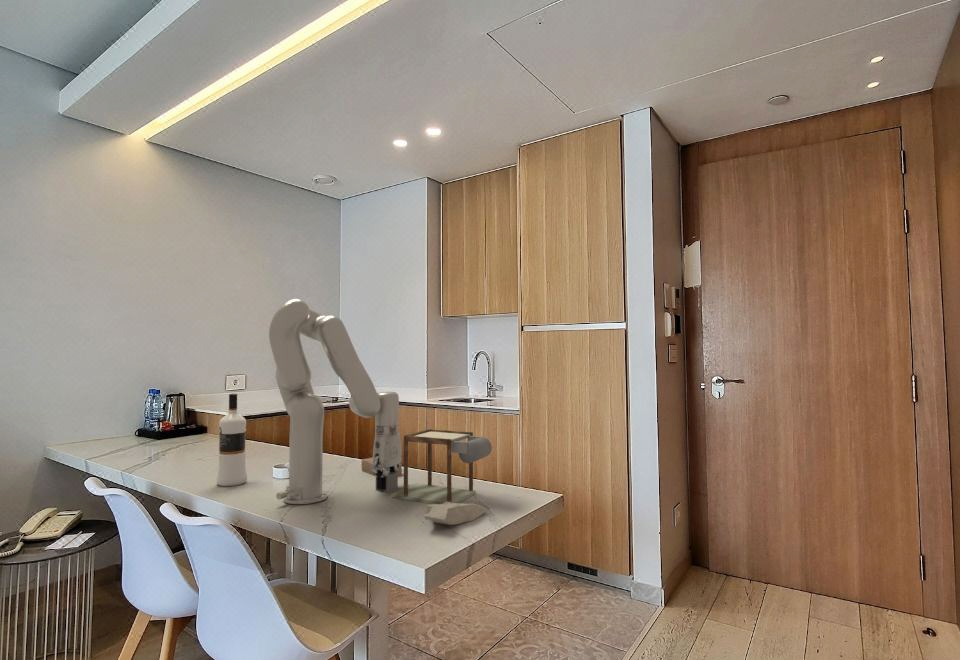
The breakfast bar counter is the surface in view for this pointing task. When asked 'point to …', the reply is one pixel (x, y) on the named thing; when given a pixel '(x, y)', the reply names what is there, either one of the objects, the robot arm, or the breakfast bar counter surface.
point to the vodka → (232, 447)
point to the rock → (453, 512)
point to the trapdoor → (465, 445)
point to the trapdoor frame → (430, 491)
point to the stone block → (390, 481)
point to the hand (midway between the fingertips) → (386, 486)
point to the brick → (369, 462)
